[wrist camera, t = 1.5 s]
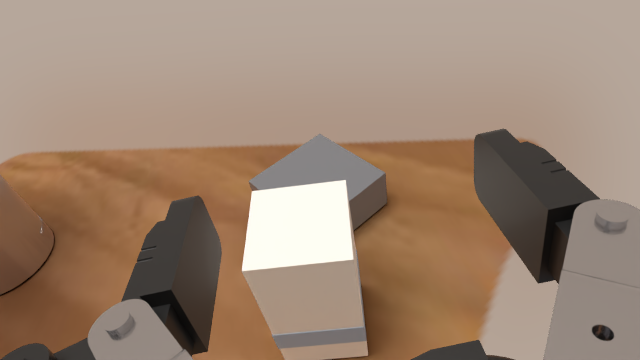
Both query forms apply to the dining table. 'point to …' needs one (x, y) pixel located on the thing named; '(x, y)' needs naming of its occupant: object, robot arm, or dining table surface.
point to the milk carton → (306, 270)
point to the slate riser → (329, 175)
